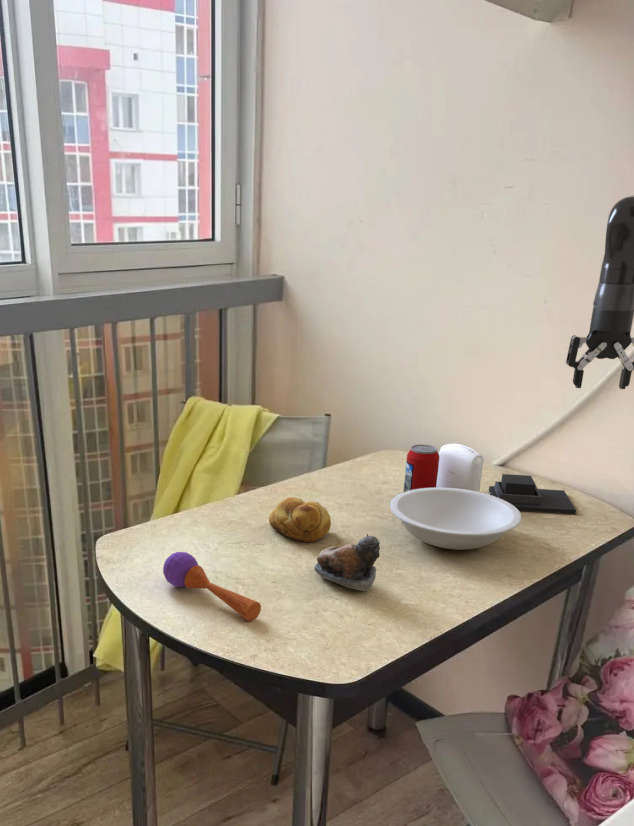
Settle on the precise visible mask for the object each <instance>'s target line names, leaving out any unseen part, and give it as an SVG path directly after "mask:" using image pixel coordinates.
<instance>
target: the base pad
mask: <svg viewBox="0 0 634 826" xmlns="http://www.w3.org/2000/svg"><path fill="white" fill-rule="evenodd" d="M500 486H501V481H495V482H494V485H488V492H489V495H492V496H495V497H498V498H500V499H502V500H505V501H507V502H508V503H510V504H512V505H513V506H514V507H516V508H517V509H518V510H519V512H528V513H529V512H531V513H544V514H545V513H547V514H560V515H563V514H564V515H577V508H576V507H575V505H574V504H573V502H572V501H571V499H570V498H569V495H568V494H567V493H566V491H565V490H563V489H562V490H561V489H549V488H548V489H545V488H538V487H537V486H536V487H535V493H534V496H533V495H516V494H503V492H502V490H501V487H500Z"/></svg>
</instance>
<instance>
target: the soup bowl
mask: <svg viewBox="0 0 634 826" xmlns="http://www.w3.org/2000/svg"><path fill="white" fill-rule="evenodd" d="M389 509H390V511H391V513H392V514H393V515H394V516H395V518H397V519H398V520H399V521H400V522H401V524H402V525H403V526H404V528H405V529H406V530H407V531H408V532H409V533H410V534H411V535H412V536H414V537H415V538H416V539H418V540H420V541H421V542H423V543H426V544H427V545H431V546H434V547H437V548H440V549H448V550H456V551H457V550H459V551H461V550H474V549H480V548H482V547H486V546H488V545H491V544H493V543H495V542H496V541H498V540H500V539H501V538H502V537H503V536H504V535H505V534H506V533H507V532H511V531H512V530H514V529H516V528H517V527H518V526H520V524H521V522H522V519H523V518H522V514H521V511H519V510H518V509H517V508H516V507H514V506H513V505H512V504H510V503H508V502H507V501H505V500H502V499H500V498H498V497H495V496H492V495H491V494H490V493H489V494H488V493H485V492H481V491H479V492H477V491H472V490H466V489H458V488H443V487H435V488H421V489H414V490H410V491H406V492H400V493H398V494H397V495H395V496H394V497H392V499H391V500H390V503H389Z"/></svg>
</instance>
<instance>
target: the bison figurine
mask: <svg viewBox="0 0 634 826" xmlns="http://www.w3.org/2000/svg"><path fill="white" fill-rule="evenodd" d="M380 545H381V539H378V537H376V536H373V535H369V534H368V533H367V534H366V535H365V536H364V537H362V538H361V539H359V540H358V543H357V544H354V543H348V544H347V543H346V544H345V545H342V546H340V547H338V546H336V545H332V546H330V547H327V548H324V549H322V550H321V551H320V553H319V554H318V555H317V557H316V562H317V563H316V564H315V565H314V569H313V570H314V571H315V573H316V574H317V575H319V576H320V577H321V578H322V579H324V580H327V581H329V582H332V583H335V584H338V585H340V586H343V587H344V588H348V589H352V590H356V591H361V592H364V591H369V590H370V589H371V587H372V585H373V584H374V582H375V580H376V576H377V567H376V566H375V562H376V561H377V559H379V558H380V550H381V546H380Z"/></svg>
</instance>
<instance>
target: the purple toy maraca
mask: <svg viewBox="0 0 634 826" xmlns="http://www.w3.org/2000/svg"><path fill="white" fill-rule="evenodd" d="M162 573H163V577H164V579H165V580H166V582H168V584H170V585H172V586H174V587H176V588H187V589H191V590H193V589H195V590H197V589H207V590H208V591H209V592H211V594H213V595H215V596H216V597H217V598H218V599H219V600H221V601H222V602H224V603H225V604H226V605H227V606H228V607H230V609H232V610H234V611H235V612H236V613H237V614H238V615H240V616H241V617H243V619H245V620H246V621H248V622H253V621H255V620H256V619H257V618H258V617H259V615H260V613H261V611H262V605H261V603H260V602H259V601H257V600H254V599H252V598H249V597H247V596H245V595H242V594H239V593H237V592H234V591H232V590H231V589H227V588H225V587H222V586H220V585H217V584H214V583H212V582H211V581H210V580H209V577H208V576H207V574H206V572H205V570H204V568H203V567H202V566H201V565H199V563H198V561H197V560H196V558H195V557H194V556H193V555H192V554H190V553H188V552H186V551H176V552H173V553H171V554H170V555H169V556H167V558H166V559H165V561H164V563H163V568H162Z"/></svg>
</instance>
